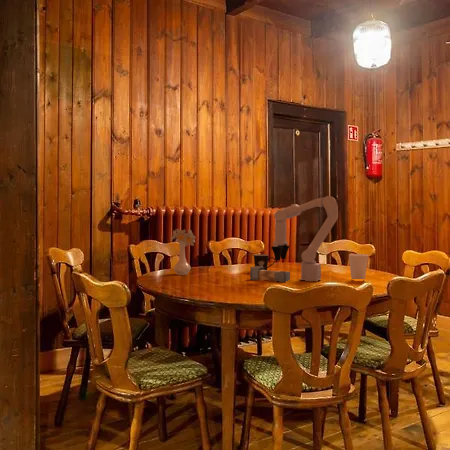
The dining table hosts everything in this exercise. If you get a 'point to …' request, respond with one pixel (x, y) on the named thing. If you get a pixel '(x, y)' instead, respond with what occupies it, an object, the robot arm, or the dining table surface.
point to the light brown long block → (267, 275)
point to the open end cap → (282, 276)
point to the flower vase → (182, 250)
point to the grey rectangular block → (255, 272)
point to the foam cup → (358, 265)
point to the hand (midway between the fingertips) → (280, 259)
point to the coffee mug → (262, 260)
